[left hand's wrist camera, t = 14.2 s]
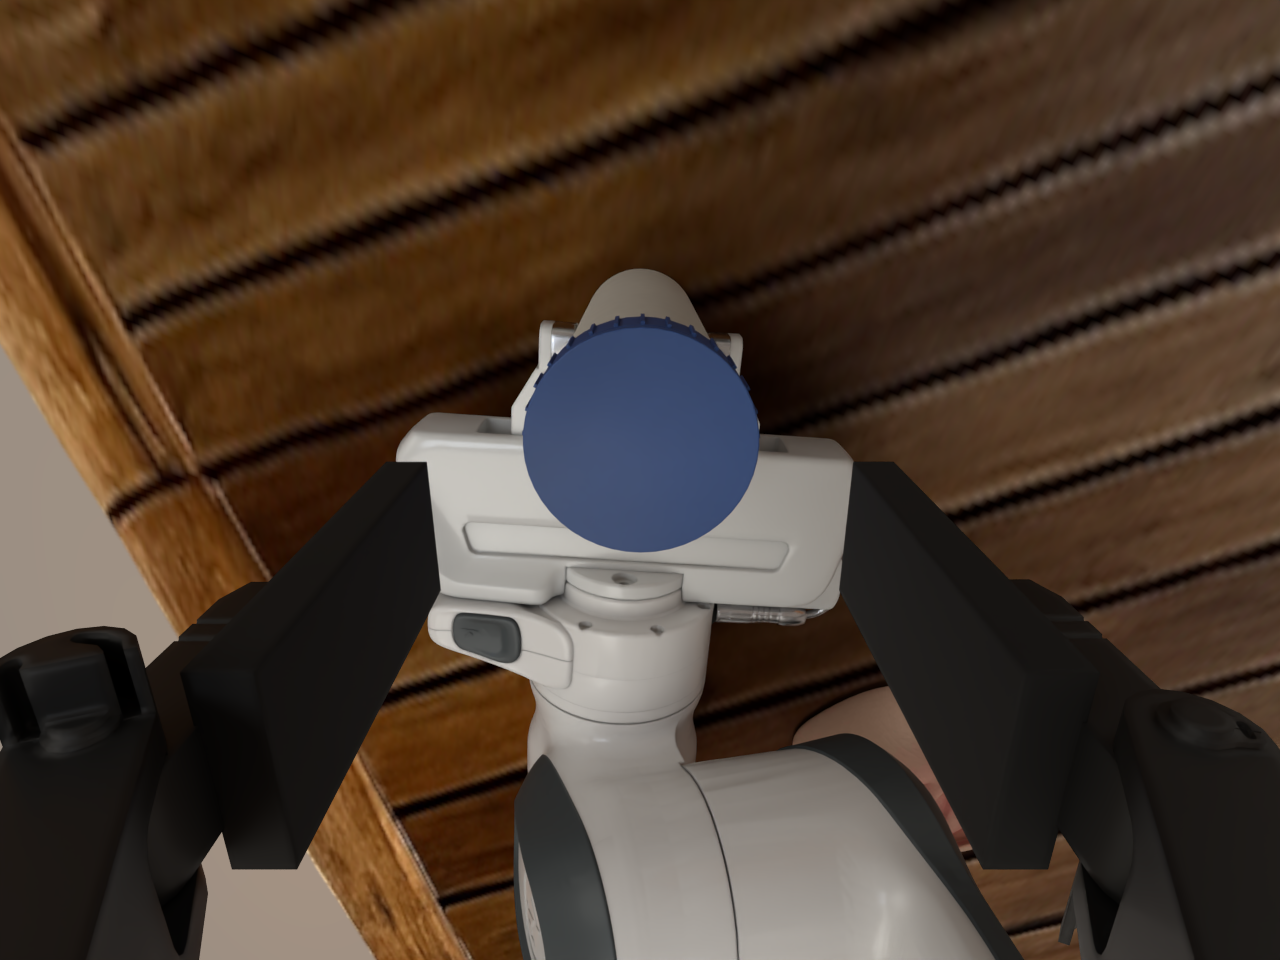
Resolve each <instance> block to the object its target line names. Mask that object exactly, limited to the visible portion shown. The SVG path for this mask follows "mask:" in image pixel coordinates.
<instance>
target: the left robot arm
mask: <svg viewBox="0 0 1280 960" xmlns="http://www.w3.org/2000/svg"><path fill="white" fill-rule="evenodd" d="M440 591H441V586H440V577H439V568H438V558H437V549H436V540H435V531H434V522H433V513H432V504H431V495H430V486H429V477H428V467H427V462H386V463H385V464H384V465H383V466H382V467H381V468H380V469H379V470H378V471H377V472H376V473H375V474H374V475H373V476H372V477H371V478H370V479H369V480H368V481H367V482H366V483H365V484H364V485H363V486H362V487H361V488H360V489H359V490H358V491H357V492H356V493H355V494H354V495H353V496H352V497H351V498H350V499H349V500H348V501H347V502H346V504H345V505H344V506H343V507H342V508H341V509H340V510H339V511H338V512H337V513H336V514H335V515H334V516H333V517H332V518H331V519H330V520H329V521H328V522H327V523H326V524H325V525H324V526H323V527H322V528H321V529H320V530H319V531H318V532H317V533H316V534H315V535H314V536H313V537H312V538H311V539H310V540H309V541H308V542H307V543H306V544H305V545H304V546H303V547H302V548H301V549H300V550H299V551H298V552H297V553H296V554H295V555H294V556H293V557H292V558H291V560H290V561H289V562H288V563H287V564H286V565H285V566H284V567H283V568H282V569H281V570H280V571H279V572H278V573H277V574H276V575H275V576H274V577H273V578H272V579H271V580H270V581H269V582H250V583H248V584H246V585H245V586H243V587H241V588H239V589H237V590H235V591H233V592H232V593H230V594H228V595H226V596H224V597H222V598H220V599H219V600H218V601H217V602H215V603H214V604H213V605H212V606H211V607H210V608H209V609H208V610H207V611H206V612H205V613H204V614H203V615H202V616H201V617H199V618H198V619H197V624H192V625H191V626H190V627H189V628H188V629H187V630H186V631H185V632H184V633H182V634H181V635H180V636H179V641H174V642H173V643H172V644H171V645H170V646H169V647H168V648H167V649H166V650H164V651H163V652H162V653H161V654H160V655H159V656H158V657H157V658H156V659H155V660H154V661H153V662H152V663H151V664H150V665H148V666H147V667H146V668H145V665H144V661H143V658H142V654H141V651H140V647H139V644H138V640H137V637H136V635H134V634H133V633H131V632H130V631H128V630H126V629H125V628H116V627H107V626H100V627H90V628H81V629H74V630H71V631H66V632H63V633H59V634H55V635H51V636H47V637H44V638H42V639H39V640H37V641H34V642H32V643H29V644H27V645H24V646H22V647H19V648H17V649H15V650H13V651H12V652H10V653H8V654H6V655H5V656H3V657H1V658H0V741H1V743H2V746H3V748H2V750H1V751H0V960H199V956H200V948H201V941H202V933H203V926H204V918H205V911H206V904H207V896H208V891H207V885H206V878H205V875H204V871H203V868H202V864H201V862H202V861H203V859H204V858H205V856H206V855H207V853H208V852H209V850H210V849H211V847H212V846H213V844H214V843H215V841H216V840H217V838H218V837H219V835H220V834H221V832H222V834H223V837H224V841H225V845H226V848H227V852H228V856H229V860H230V864H231V867H232V869H297V868H298V866H299V864H300V862H301V861H302V859H303V857H304V855H305V853H306V851H307V849H308V847H309V845H310V843H311V841H312V839H313V837H314V835H315V833H316V832H317V830H318V828H319V826H320V824H321V822H322V820H323V818H324V816H325V814H326V812H327V810H328V808H329V806H330V804H331V802H332V800H333V799H334V797H335V795H336V793H337V791H338V789H339V787H340V785H341V783H342V781H343V779H344V777H345V775H346V773H347V771H348V769H349V768H350V766H351V764H352V762H353V760H354V758H355V756H356V754H357V752H358V750H359V748H360V746H361V744H362V742H363V740H364V738H365V736H366V735H367V733H368V731H369V729H370V727H371V725H372V723H373V721H374V719H375V717H376V715H377V713H378V711H379V709H380V707H381V705H382V703H383V702H384V700H385V698H386V696H387V694H388V692H389V690H390V688H391V686H392V684H393V682H394V680H395V678H396V676H397V674H398V672H399V670H400V669H401V667H402V665H403V663H404V661H405V659H406V657H407V655H408V653H409V651H410V649H411V647H412V645H413V643H414V641H415V639H416V637H417V636H418V634H419V632H420V630H421V628H422V626H423V624H424V622H425V620H426V618H427V616H428V614H429V612H430V610H431V608H432V606H433V604H434V603H435V601H436V599H437V597H438V595H439V593H440ZM839 591H840V593H841V595H842V597H843V599H844V601H845V603H846V604H847V606H848V608H849V610H850V612H851V614H852V616H853V618H854V620H855V622H856V624H857V626H858V628H859V630H860V632H861V634H862V636H863V637H864V639H865V641H866V643H867V645H868V647H869V649H870V651H871V653H872V655H873V657H874V659H875V661H876V663H877V665H878V667H879V669H880V670H881V672H882V674H883V676H884V678H885V680H886V682H887V684H888V686H889V688H890V690H891V692H892V694H893V696H894V698H895V700H896V702H897V703H898V705H899V707H900V709H901V711H902V713H903V715H904V717H905V719H906V721H907V723H908V725H909V727H910V729H911V731H912V733H913V735H914V736H915V738H916V740H917V742H918V744H919V746H920V748H921V750H922V752H923V754H924V756H925V758H926V760H927V762H928V764H929V766H930V768H931V769H932V771H933V773H934V775H935V777H936V779H937V781H938V783H939V785H940V787H941V789H942V791H943V793H944V795H945V797H946V799H947V800H948V802H949V804H950V806H951V808H952V810H953V812H954V814H955V816H956V818H957V820H958V822H959V824H960V826H961V828H962V830H963V832H964V833H965V835H966V837H967V839H968V841H969V843H970V845H971V847H972V849H973V851H974V853H975V855H976V857H977V859H978V861H979V863H980V865H981V866H982V868H983V869H1048V867H1049V864H1050V860H1051V856H1052V852H1053V849H1054V845H1055V841H1056V837H1057V834H1058V830H1060V831H1061V833H1062V834H1063V836H1064V837H1065V839H1066V840H1067V842H1068V843H1069V845H1070V846H1071V848H1072V849H1073V851H1074V852H1075V854H1076V855H1077V857H1078V858H1079V860H1080V861H1079V864H1078V868H1077V871H1076V875H1075V878H1074V882H1073V885H1072V889H1071V892H1070V896H1069V899H1068V903H1067V906H1066V910H1065V913H1064V917H1063V920H1062V924H1061V928H1060V934H1059V940H1058V942H1061V943H1064V944H1067V945H1070V942H1071V938H1072V935H1073V931H1074V929H1075V928H1077V931H1078V939H1079V946H1080V954H1081V960H1280V750H1279V748H1278V746H1277V745H1276V744H1275V743H1274V741H1273V740H1272V739H1271V738H1270V737H1269V736H1268V735H1267V733H1266V732H1265V731H1264V730H1263V729H1262V728H1260V727H1259V726H1258V725H1256V724H1255V723H1253V722H1252V721H1250V720H1249V719H1247V718H1246V717H1244V716H1243V715H1242V714H1240V713H1238V712H1236V711H1234V710H1232V709H1230V708H1227V707H1225V706H1223V705H1221V704H1219V703H1217V702H1214V701H1212V700H1209V699H1206V698H1202V697H1199V696H1196V695H1192V694H1189V693H1185V692H1180V691H1172V690H1163V689H1160V688H1159V687H1158V686H1157V685H1156V684H1155V683H1154V682H1153V681H1152V680H1150V679H1149V678H1148V677H1147V676H1146V675H1145V674H1144V673H1143V672H1142V671H1141V670H1140V669H1139V668H1138V667H1137V666H1135V665H1134V664H1133V663H1132V662H1131V661H1130V660H1129V659H1128V658H1127V657H1126V656H1125V655H1124V654H1123V653H1122V652H1120V651H1119V650H1118V649H1117V648H1116V647H1115V646H1114V645H1113V644H1112V643H1111V642H1110V641H1109V640H1108V639H1102V634H1101V633H1100V632H1099V631H1098V630H1097V629H1096V628H1095V627H1094V626H1093V625H1091V624H1090V623H1089V622H1088V621H1084V617H1083V616H1082V615H1081V614H1080V613H1079V612H1078V611H1076V610H1075V609H1074V608H1073V607H1072V606H1071V605H1070V604H1069V603H1068V602H1067V601H1066V600H1065V599H1064V598H1062V597H1061V596H1059V595H1057V594H1056V593H1054V592H1052V591H1050V590H1048V589H1046V588H1044V587H1042V586H1041V585H1039V584H1037V583H1035V582H1033V581H1031V580H1009V579H1008V578H1007V577H1006V576H1005V575H1004V574H1003V573H1002V572H1001V571H1000V570H999V569H998V568H997V567H996V566H995V565H994V564H993V563H992V562H991V561H990V560H989V558H988V557H987V556H986V555H985V554H984V553H983V552H982V551H981V550H980V549H979V548H978V547H977V546H976V545H975V544H974V543H973V542H972V541H971V540H970V539H969V538H968V537H967V536H966V535H965V534H964V533H963V532H962V531H961V530H960V529H959V528H958V527H957V526H956V525H955V524H954V523H953V522H952V521H951V520H950V519H949V518H948V517H947V516H946V515H945V514H944V513H943V512H942V511H941V510H940V509H939V508H938V507H937V506H936V505H935V504H934V502H933V501H932V500H931V499H930V498H929V497H928V496H927V495H926V494H925V493H924V492H923V491H922V490H921V489H920V488H919V487H918V486H917V485H916V484H915V483H914V482H913V481H912V480H911V479H910V478H909V477H908V476H907V475H906V474H905V473H904V472H903V471H902V470H901V469H900V468H899V467H898V466H897V465H896V464H895V463H894V462H853V467H852V477H851V486H850V495H849V504H848V513H847V522H846V531H845V540H844V549H843V558H842V567H841V577H840V586H839Z"/></svg>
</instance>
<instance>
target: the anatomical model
mask: <svg viewBox="0 0 1280 960" xmlns="http://www.w3.org/2000/svg"><path fill="white" fill-rule="evenodd" d="M842 733H850V734H855V735H859V736H862V737H864V738H866V739H868V740H870V741H872V742H873V743H875V744H877V745H878V746H880V747H881V748H883V749H884V750H886V751H887V752H889V753H890V754H891V755H893V756H894V757H895V758H896V759H898V760H899V761H900V762H902V763H903V764H904V765H905V766H906V767H907V768H909V769H910V770H911V771H912V772H913V773H914V774H915V775H916V776H917V778H918V779H919V780H920V781H921V782H922V783H923V784H924V785H925V787H926V788H927V789H928V791H929V792H930V794H931V795H932V796H933V798H934V799H935V801H936V803H937V804H938V806H939V808H940V810H941V811H942V813H943V815H944V817H945V819H946V821H947V823H948V825H949V827H950V829H951V832H952V834H953V836H954V838H955V840H956V842H957V845H958V847H959V849H960V851H961V852H962V851H967V850H972V847H971V845H970V843H969V841H968V839H967V837H966V835H965V833H964V832H963V830H962V828H961V826H960V824H959V822H958V820H957V818H956V816H955V814H954V812H953V810H952V808H951V806H950V804H949V802H948V800H947V799H946V797H945V795H944V793H943V791H942V789H941V787H940V785H939V783H938V781H937V779H936V777H935V775H934V773H933V771H932V769H931V768H930V766H929V764H928V762H927V760H926V758H925V756H924V754H923V752H922V750H921V748H920V746H919V744H918V742H917V740H916V738H915V736H914V735H913V733H912V731H911V729H910V727H909V725H908V723H907V721H906V719H905V717H904V715H903V713H902V711H901V709H900V707H899V705H898V703H897V702H896V700H895V698H894V696H893V694H892V692H891V690H890V688H889V686H885V687H880V688H876V689H872V690H869V691H866V692H862V693H860V694H857V695H855V696H852V697H850V698H848V699H845V700H843V701H841V702H839V703H837V704H835V705H833V706H831V707H829V708H828V709H826V710H824V711H822V712H820V713H819V714H817V715H816V716H814V717H813V718H811V719H810V720H808V721H807V722H805V723H804V724H803V725H802V726H801V727H800V728H799V729H798V730H797V732H796V733H795V735H794V738H793V745H795V744H799V743H804V742H808V741H812V740H816V739H820V738H824V737H828V736H832V735H836V734H842Z"/></svg>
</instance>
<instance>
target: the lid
mask: <svg viewBox="0 0 1280 960" xmlns="http://www.w3.org/2000/svg"><path fill="white" fill-rule="evenodd" d="M547 366H548V368H547V369H546V371H545V373H544V374H543V373H540V375H539V377H538V379H537V380H536V382H535V384H534V386H533V387H534V388H536V389H535V391H534V393H533V395H532V396H531V398H530V400H529V402H528V404H527V405H526V407H525V411H527V412H526V415H525V421H524V428H523V431H522V435H523V452H524V459H525V464H526V468H527V471H528V475H529V477H530V480H531V482H532V484H533V487H534V489H535V491H536V492H537V494H538V496H539V497H540V499H541V501H542V502H543V503H544V505H545V506H546V507H547V509H548V510H549V511H550V512H551V513H552V514H553V515H554V516H555V517H556V518H557V519H558V520H559V521H560V522H561V523H562V524H563V525H564V526H566V527H567V528H568V529H570V530H571V531H572V532H574V533H575V534H577V535H579V536H580V537H582V538H584V539H586V540H588V541H590V542H593V543H595V544H597V545H600V546H603V547H606V548H610V549H614V550H619V551H625V552H639V553H643V552H657V551H663V550H668V549H672V548H676V547H679V546H682V545H685V544H687V543H689V542H692V541H694V540H696V539H698V538H700V537H702V536H703V535H705V534H707V533H708V532H710V531H711V530H712V529H714V528H715V527H716V526H718V525H719V524H720V523H721V522H722V521H723V520H724V519H725V518H726V517H727V516H728V515H730V514H731V513H732V511H733V510H734V509H735V507H736V506H737V505H738V504H739V502H740V501H741V499H742V498H743V496H744V494H745V492H746V491H747V489H748V487H749V485H750V482H751V480H752V477H753V475H754V472H755V468H756V464H757V460H758V452H759V438H760V434H759V427H758V420H757V415H756V414H758V411H757V409H756V407H755V405H754V403H753V401H752V399H751V397H750V395H749V393H748V391H749V390H750V388H749V386H748V384H747V382H746V381H745V379H744V377H743V376H742V375H741V376H739V374H738V373H737V371H736V369H737V366H736V364H735V363H734V361H733V359H732V358H731V356H730V355H728V356H727V357H726V355H725V354H724V353H723V352H722V351H721V350H720V349H719V347H718V346H717V344H716V342H715V340H714V339H713V338H711V339H710V340H709V339H708V338H706V337H705V336H703V335H702V334H700V333H699V332H697V331H695V328H694V326H692V325H689V327H687V326H685V325H683V324H680V323H677V322H674V321H671V320H670V317H667V316H666V318H665V319H662V318H657V317H645V314H642V313H641V316H638V317H625V318H620V317H619V316H615V320H611V321H608V322H605V323H602V324H599V325H597V326H596V324H595V323H594V324H592V325H591V327H590V329H589V330H587V331H585V332H583V333H582V334H580V335H579V336H577V337H576V338H575V337H574V336H572V337H571V338H570V339H569V341H568V343H567V345H566V346H565V347H564V348H563V349H562V350H561V351H560V352H559V353H558V354H556V353H554V354H553V355H552V357H551V359H550V360H549V362H548V364H547Z"/></svg>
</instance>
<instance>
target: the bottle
mask: <svg viewBox="0 0 1280 960" xmlns="http://www.w3.org/2000/svg"><path fill="white" fill-rule="evenodd" d="M641 313H642V314H645V317H657V318H662V319H665V318H666V316H667V317H670V320H671V321H674V322H677V323H680V324H683V325H685V326H687V327H689V325H692V326H694V328H695V331H697V332H699V333H700V334H702V335H703V336H705V337H706V338H708V339H709V340H710V338H709V336H708V334H707V332H706V331H705V329H704V327H703V325H702V323H701V321H700V319H699V317H698V315H697V313H696V311H695V309H694V307H693V305H692V304H691V302H690V300H689V298H688V296H687V295H686V293H685V291H684V290H683V289H682V288H681V287H680V285H679V284H677V283H676V282H675V281H674V280H673V279H671V278H670V277H668V276H666V275H665V274H663V273H660V272H657V271H654V270H649V269H632V270H627V271H624V272H621V273H618V274H616V275H614V276H612V277H611V278H610V279H608V280H607V281H605V282H604V283H603V284H602V285H601V286H600V287H599V289H598V290H597V291H596V293H595V294H594V296H593V297H592V299H591V301H590V303H589V305H588V307H587V309H586V311H585V313H584V315H583V317H582V319H581V321H580V323H579V325H578V327H577V329H576V331H575V333H574V335H573V336H574V337H575V338H576V337H577V336H579V335H580V334H582V333H583V332H585V331H587V330H589V329H590V327H591V325H592V324H594V323H595V324H596V326H597V325H599V324H602V323H605V322H608V321H611V320H615V316H619V317H620V318H625V317H638V316H641Z"/></svg>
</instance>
